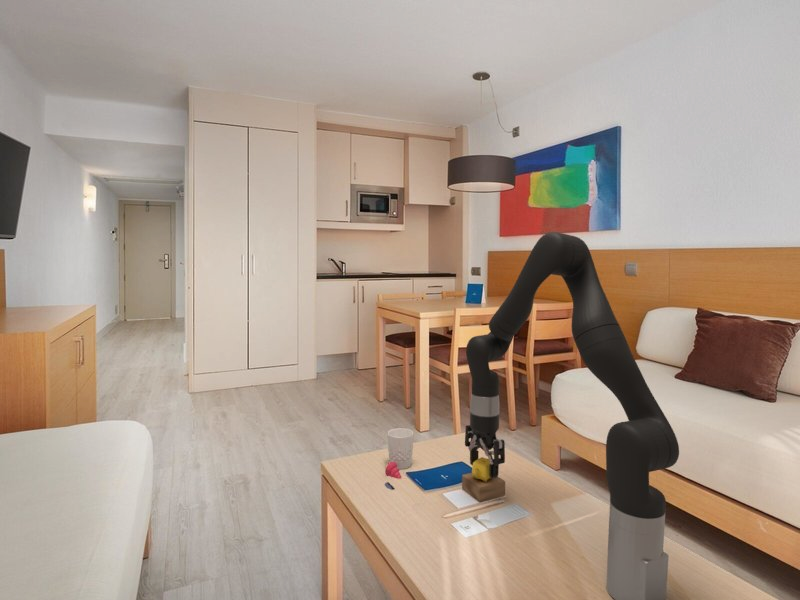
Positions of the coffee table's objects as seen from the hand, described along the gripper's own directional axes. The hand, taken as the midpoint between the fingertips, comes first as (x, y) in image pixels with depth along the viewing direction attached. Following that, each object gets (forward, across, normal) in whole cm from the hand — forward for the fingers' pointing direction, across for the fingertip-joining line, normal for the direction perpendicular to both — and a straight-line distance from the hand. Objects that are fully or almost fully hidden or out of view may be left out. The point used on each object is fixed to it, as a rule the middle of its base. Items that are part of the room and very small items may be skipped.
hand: (483, 470), depth 127 cm
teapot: (+2, -1, 0) cm, 2 cm away
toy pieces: (+7, +16, +16) cm, 24 cm away
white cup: (+7, +27, +11) cm, 30 cm away
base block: (+6, 0, 0) cm, 6 cm away
